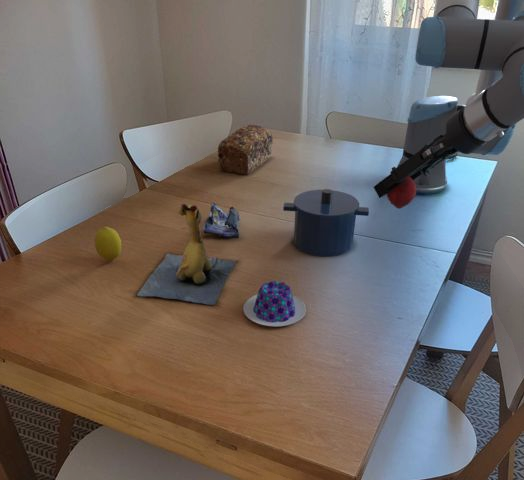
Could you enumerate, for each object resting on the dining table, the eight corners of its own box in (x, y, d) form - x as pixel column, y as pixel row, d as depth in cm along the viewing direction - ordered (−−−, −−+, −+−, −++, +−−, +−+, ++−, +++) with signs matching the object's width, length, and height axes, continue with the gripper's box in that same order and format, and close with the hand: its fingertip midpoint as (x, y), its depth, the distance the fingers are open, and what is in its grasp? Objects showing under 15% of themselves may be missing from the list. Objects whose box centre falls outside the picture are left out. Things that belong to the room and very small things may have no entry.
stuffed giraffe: (237, 261, 120) (232, 191, 110) (214, 307, 106) (206, 233, 96) (168, 256, 123) (157, 187, 113) (137, 300, 109) (122, 227, 99)
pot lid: (296, 192, 129) (296, 177, 127) (358, 195, 128) (360, 180, 126) (290, 218, 118) (291, 202, 115) (359, 222, 116) (361, 206, 114)
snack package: (259, 227, 135) (221, 214, 140) (257, 204, 130) (218, 192, 135) (229, 253, 128) (191, 238, 133) (226, 230, 123) (187, 215, 128)
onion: (412, 215, 113) (419, 177, 108) (384, 212, 114) (390, 174, 109) (412, 204, 117) (419, 167, 112) (385, 201, 118) (390, 164, 113)
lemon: (128, 257, 122) (123, 223, 117) (115, 268, 117) (109, 234, 113) (106, 253, 123) (100, 219, 118) (93, 264, 119) (86, 230, 114)
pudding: (245, 294, 110) (244, 271, 106) (304, 295, 109) (306, 272, 106) (241, 328, 100) (241, 304, 97) (306, 330, 100) (308, 306, 97)
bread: (244, 153, 179) (244, 121, 173) (274, 158, 175) (275, 125, 169) (216, 171, 165) (215, 137, 159) (248, 176, 162) (248, 142, 156)
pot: (285, 227, 134) (286, 190, 129) (363, 232, 133) (368, 194, 127) (279, 253, 124) (281, 213, 118) (364, 259, 122) (370, 219, 116)
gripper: (458, 154, 91) (367, 216, 110) (511, 132, 101) (420, 192, 121) (436, 114, 91) (349, 183, 110) (493, 96, 101) (404, 162, 120)
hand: (386, 188), depth 115 cm, fingers closed on onion, 6 cm apart
